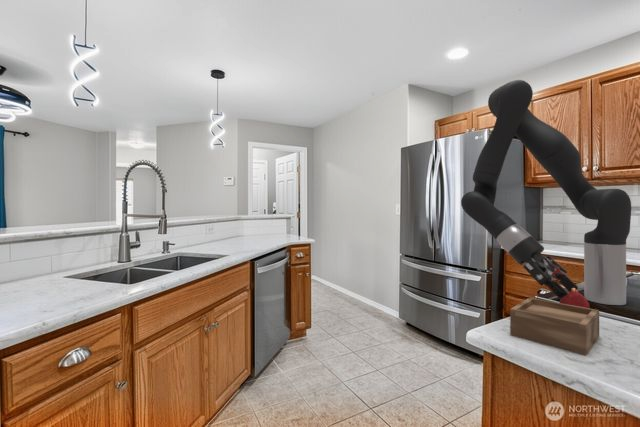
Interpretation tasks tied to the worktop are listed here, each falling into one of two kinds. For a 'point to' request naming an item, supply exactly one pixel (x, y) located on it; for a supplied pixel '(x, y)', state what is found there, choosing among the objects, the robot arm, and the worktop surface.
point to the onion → (575, 299)
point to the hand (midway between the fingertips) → (570, 293)
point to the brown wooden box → (555, 324)
